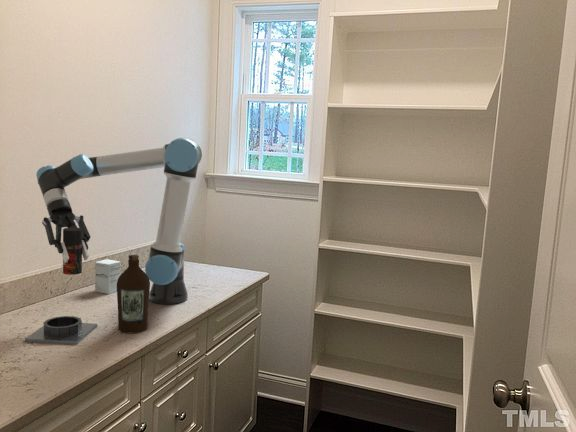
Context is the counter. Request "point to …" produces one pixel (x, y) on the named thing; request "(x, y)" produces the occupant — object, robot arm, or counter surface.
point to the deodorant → (73, 250)
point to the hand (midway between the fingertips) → (76, 259)
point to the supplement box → (106, 276)
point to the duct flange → (62, 331)
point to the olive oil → (133, 298)
